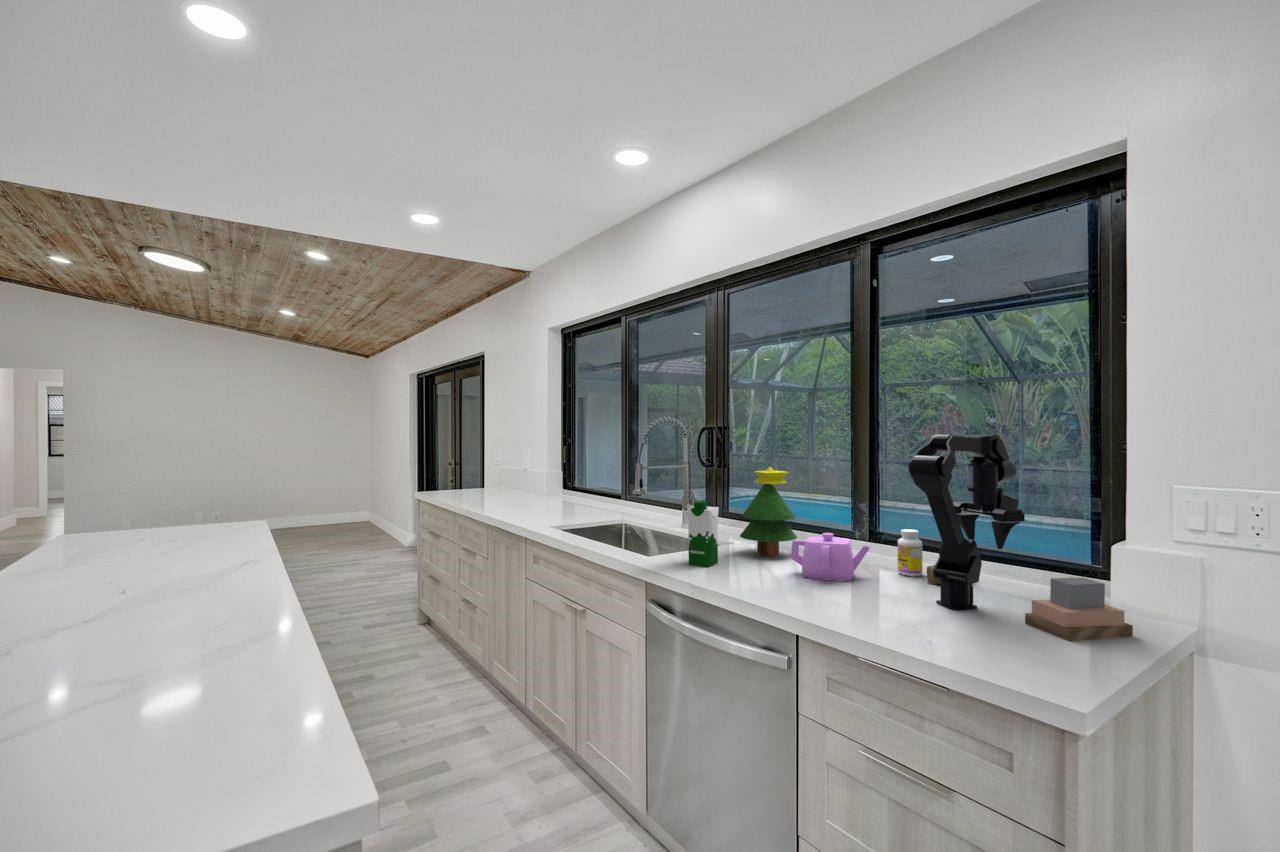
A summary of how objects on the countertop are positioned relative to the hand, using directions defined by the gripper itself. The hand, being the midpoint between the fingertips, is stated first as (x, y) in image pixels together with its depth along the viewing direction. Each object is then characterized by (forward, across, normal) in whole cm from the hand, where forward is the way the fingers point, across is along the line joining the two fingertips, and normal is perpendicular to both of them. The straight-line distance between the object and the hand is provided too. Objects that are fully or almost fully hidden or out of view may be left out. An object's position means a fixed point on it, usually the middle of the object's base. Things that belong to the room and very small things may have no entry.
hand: (985, 545), depth 151 cm
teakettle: (+13, +30, +26) cm, 42 cm away
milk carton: (+13, +53, +57) cm, 79 cm away
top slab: (+11, -26, +1) cm, 28 cm away
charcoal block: (+8, -26, +1) cm, 27 cm away
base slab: (+14, -26, +1) cm, 29 cm away
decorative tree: (+13, +61, +31) cm, 70 cm away
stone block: (+13, +14, -1) cm, 20 cm away
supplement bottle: (+13, +25, +3) cm, 29 cm away
